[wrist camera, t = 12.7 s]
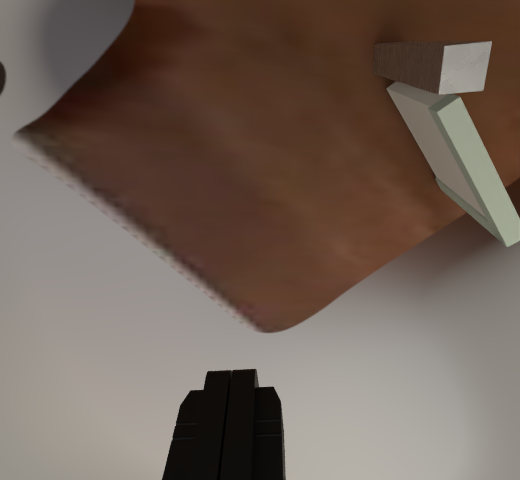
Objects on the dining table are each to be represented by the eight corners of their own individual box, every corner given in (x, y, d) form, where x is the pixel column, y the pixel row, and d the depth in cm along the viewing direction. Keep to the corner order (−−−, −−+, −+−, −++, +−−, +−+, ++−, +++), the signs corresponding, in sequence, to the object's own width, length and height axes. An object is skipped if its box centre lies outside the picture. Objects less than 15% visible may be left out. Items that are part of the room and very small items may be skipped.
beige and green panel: (384, 89, 36) (436, 112, 24) (399, 78, 35) (460, 96, 24) (441, 189, 40) (507, 247, 29) (455, 181, 40) (528, 236, 29)
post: (374, 43, 35) (444, 45, 21) (402, 41, 35) (492, 41, 21) (372, 73, 36) (438, 94, 22) (399, 71, 36) (483, 90, 22)
